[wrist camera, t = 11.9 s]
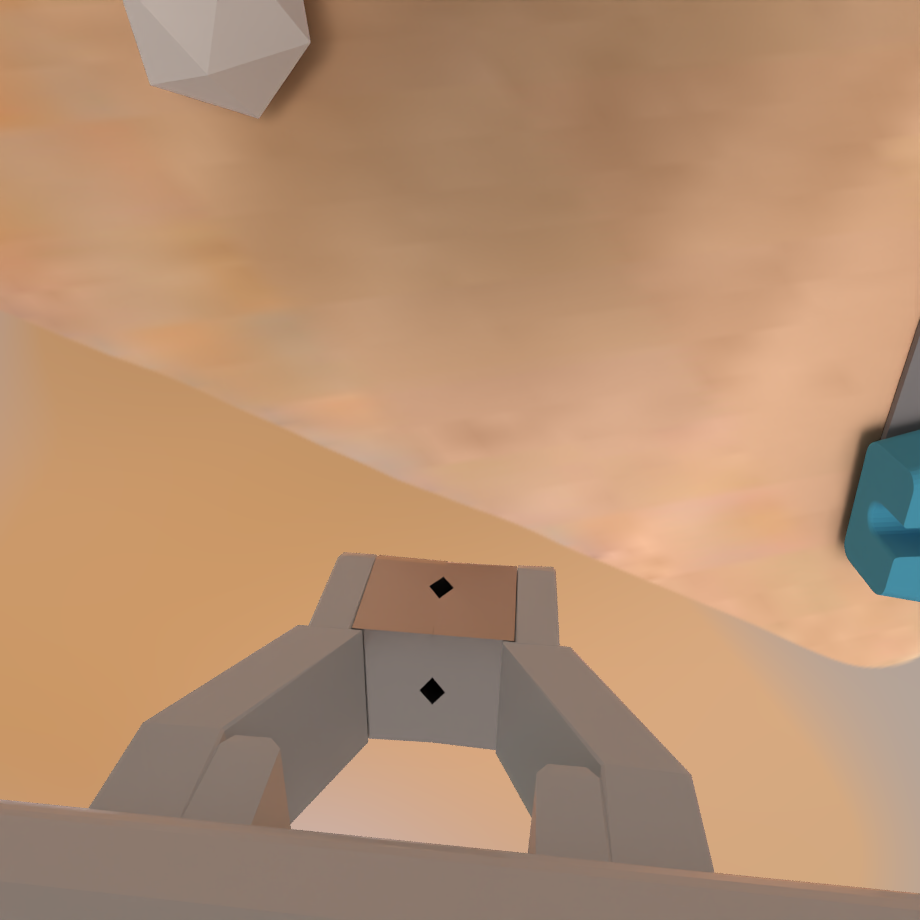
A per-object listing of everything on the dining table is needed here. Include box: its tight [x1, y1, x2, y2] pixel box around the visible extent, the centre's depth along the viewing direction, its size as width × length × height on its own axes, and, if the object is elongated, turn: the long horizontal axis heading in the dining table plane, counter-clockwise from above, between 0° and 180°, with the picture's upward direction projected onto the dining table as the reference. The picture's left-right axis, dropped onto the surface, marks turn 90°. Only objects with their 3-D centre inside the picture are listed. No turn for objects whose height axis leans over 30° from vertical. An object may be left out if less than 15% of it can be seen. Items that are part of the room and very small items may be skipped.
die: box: [123, 0, 311, 119], centre depth 32 cm, size 8×9×10 cm
